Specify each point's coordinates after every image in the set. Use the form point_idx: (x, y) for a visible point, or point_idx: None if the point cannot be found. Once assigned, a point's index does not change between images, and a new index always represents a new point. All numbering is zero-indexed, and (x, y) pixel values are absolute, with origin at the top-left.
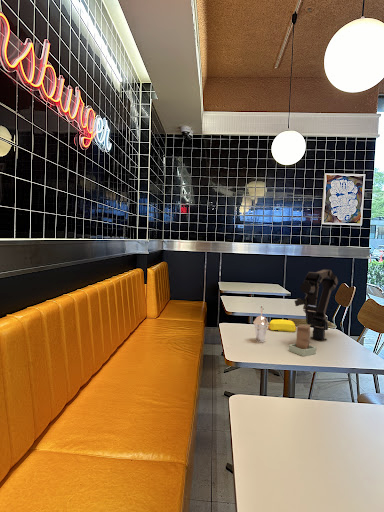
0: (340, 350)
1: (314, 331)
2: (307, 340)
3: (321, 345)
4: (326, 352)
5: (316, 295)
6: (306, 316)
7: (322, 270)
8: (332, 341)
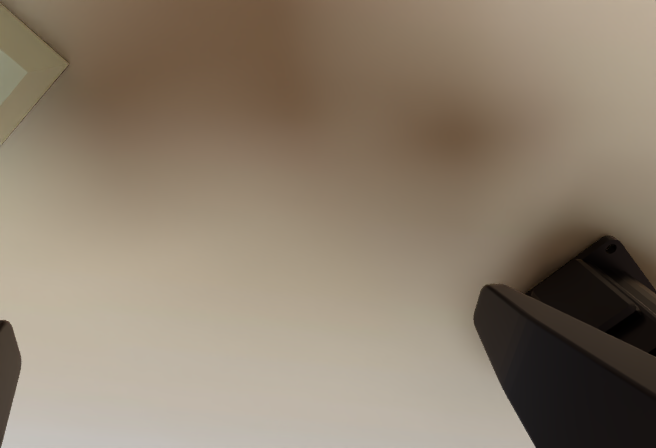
0: (223, 444)
1: (608, 321)
2: None
3: (328, 313)
4: (75, 331)
5: None
6: (642, 405)
7: None
8: (514, 417)
